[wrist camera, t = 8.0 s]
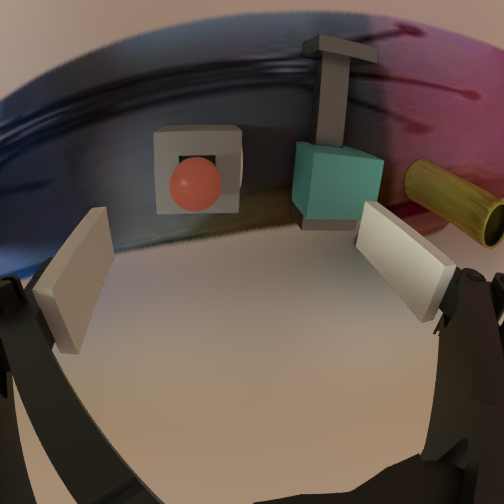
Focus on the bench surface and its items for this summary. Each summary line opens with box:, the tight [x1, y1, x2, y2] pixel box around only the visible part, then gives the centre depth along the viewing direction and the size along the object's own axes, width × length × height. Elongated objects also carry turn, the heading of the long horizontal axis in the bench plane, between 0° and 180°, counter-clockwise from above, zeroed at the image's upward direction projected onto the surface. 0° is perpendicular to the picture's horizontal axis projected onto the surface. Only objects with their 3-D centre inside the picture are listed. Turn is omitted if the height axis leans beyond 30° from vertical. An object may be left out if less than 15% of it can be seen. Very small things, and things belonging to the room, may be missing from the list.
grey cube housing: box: [153, 124, 243, 214], centre depth 26 cm, size 7×7×7 cm
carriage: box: [292, 141, 384, 220], centre depth 28 cm, size 6×7×7 cm
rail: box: [289, 34, 378, 230], centre depth 27 cm, size 19×6×5 cm, turn 177°
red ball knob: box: [169, 157, 221, 211], centre depth 22 cm, size 4×4×5 cm
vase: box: [404, 159, 504, 249], centre depth 28 cm, size 6×6×14 cm
